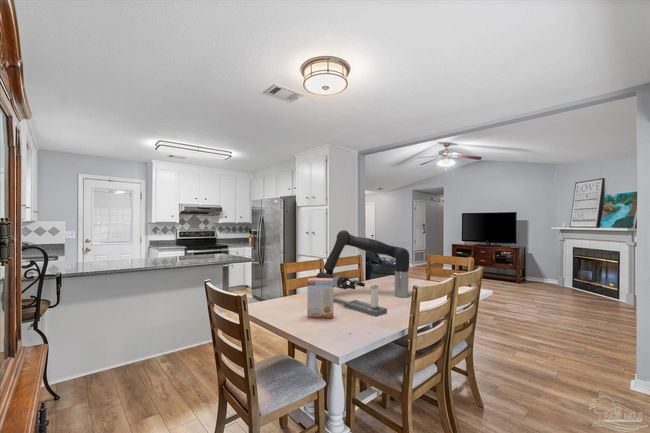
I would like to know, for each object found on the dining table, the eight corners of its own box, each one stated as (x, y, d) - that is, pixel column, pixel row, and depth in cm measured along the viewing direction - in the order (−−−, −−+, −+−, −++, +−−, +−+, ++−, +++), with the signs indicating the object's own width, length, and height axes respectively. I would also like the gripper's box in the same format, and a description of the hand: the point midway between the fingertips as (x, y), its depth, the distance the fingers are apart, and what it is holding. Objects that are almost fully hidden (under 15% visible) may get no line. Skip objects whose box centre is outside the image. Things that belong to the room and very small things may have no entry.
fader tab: (369, 307, 181) (369, 285, 181) (373, 306, 183) (374, 284, 183) (374, 308, 178) (375, 286, 178) (379, 307, 180) (379, 285, 180)
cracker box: (333, 315, 176) (333, 277, 176) (332, 318, 170) (332, 280, 170) (308, 314, 177) (308, 277, 177) (307, 317, 171) (307, 279, 171)
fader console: (344, 306, 191) (344, 302, 191) (355, 303, 198) (355, 299, 198) (375, 316, 173) (375, 311, 173) (386, 312, 180) (386, 308, 180)
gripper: (332, 278, 196) (351, 281, 184) (348, 274, 206) (367, 278, 194) (332, 290, 196) (351, 294, 184) (348, 286, 206) (367, 290, 194)
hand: (359, 286), depth 189 cm, fingers open, 8 cm apart
